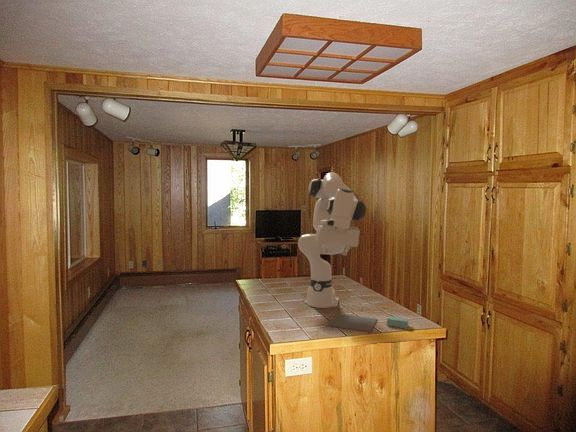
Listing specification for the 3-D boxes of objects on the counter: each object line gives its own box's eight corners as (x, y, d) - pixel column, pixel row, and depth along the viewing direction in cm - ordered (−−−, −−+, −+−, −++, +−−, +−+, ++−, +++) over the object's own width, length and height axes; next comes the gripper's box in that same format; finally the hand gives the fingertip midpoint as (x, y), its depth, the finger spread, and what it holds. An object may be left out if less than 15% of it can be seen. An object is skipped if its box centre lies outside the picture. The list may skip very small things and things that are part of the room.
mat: (336, 314, 193) (336, 313, 193) (377, 320, 186) (377, 319, 186) (326, 325, 177) (326, 324, 177) (370, 332, 169) (370, 331, 169)
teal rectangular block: (388, 323, 182) (388, 316, 182) (407, 326, 179) (408, 318, 179) (386, 326, 178) (387, 318, 178) (406, 329, 175) (407, 321, 175)
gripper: (357, 227, 180) (352, 256, 180) (317, 220, 174) (311, 249, 174) (363, 228, 174) (358, 258, 173) (322, 220, 168) (316, 251, 168)
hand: (334, 254), depth 174 cm, fingers open, 8 cm apart
